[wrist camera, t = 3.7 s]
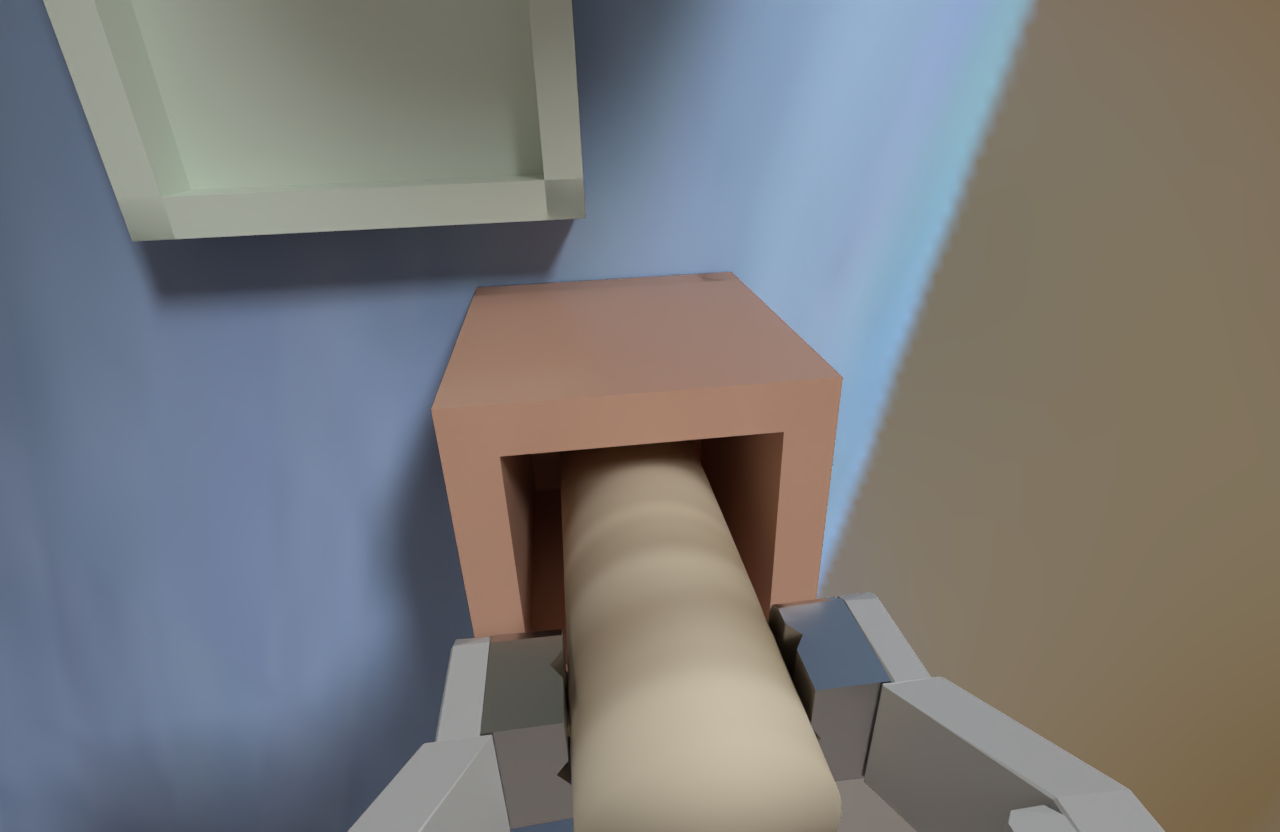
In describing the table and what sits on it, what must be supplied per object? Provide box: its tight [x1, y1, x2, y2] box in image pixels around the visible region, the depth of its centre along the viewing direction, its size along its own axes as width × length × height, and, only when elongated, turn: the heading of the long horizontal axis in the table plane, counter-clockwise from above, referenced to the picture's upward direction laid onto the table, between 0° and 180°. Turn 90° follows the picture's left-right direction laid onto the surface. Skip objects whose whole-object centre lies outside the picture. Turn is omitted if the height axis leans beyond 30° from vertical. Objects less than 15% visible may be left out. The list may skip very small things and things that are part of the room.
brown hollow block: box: [431, 272, 843, 672], centre depth 15 cm, size 6×6×7 cm
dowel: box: [559, 440, 842, 832], centre depth 12 cm, size 3×3×11 cm
